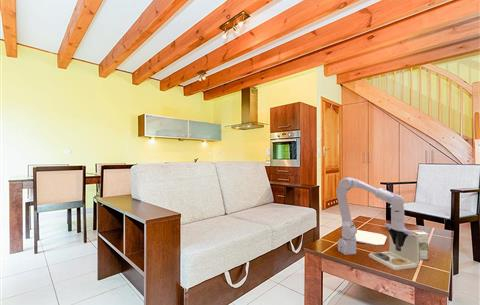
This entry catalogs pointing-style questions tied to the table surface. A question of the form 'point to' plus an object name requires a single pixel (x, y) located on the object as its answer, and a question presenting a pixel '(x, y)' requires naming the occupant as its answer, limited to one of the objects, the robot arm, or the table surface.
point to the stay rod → (397, 244)
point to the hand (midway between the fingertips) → (398, 245)
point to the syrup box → (422, 244)
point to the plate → (370, 238)
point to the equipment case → (400, 254)
